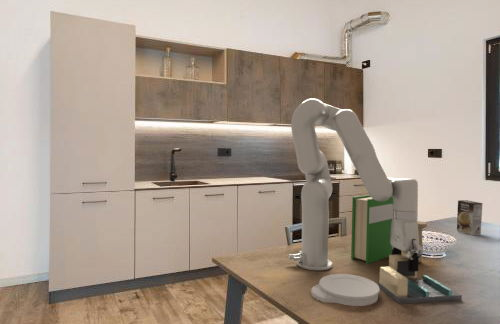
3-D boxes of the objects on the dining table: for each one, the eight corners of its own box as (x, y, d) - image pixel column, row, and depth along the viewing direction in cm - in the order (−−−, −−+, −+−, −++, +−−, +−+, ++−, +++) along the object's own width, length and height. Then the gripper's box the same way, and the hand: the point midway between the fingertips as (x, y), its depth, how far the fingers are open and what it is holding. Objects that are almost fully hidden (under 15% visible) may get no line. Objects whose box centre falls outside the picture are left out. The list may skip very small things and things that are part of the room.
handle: (420, 264, 129) (421, 224, 128) (404, 259, 135) (405, 221, 134) (428, 262, 131) (429, 223, 131) (412, 258, 137) (413, 220, 136)
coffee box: (455, 231, 182) (457, 200, 181) (465, 230, 184) (466, 199, 183) (471, 235, 173) (473, 203, 173) (481, 234, 175) (482, 202, 175)
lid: (301, 286, 109) (301, 276, 109) (359, 281, 114) (359, 271, 114) (325, 311, 93) (325, 300, 92) (392, 304, 97) (392, 294, 97)
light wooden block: (394, 279, 115) (395, 258, 114) (388, 275, 119) (389, 254, 118) (417, 278, 116) (418, 257, 115) (410, 274, 120) (411, 254, 119)
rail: (399, 303, 97) (399, 280, 97) (377, 286, 109) (378, 265, 108) (461, 300, 99) (462, 277, 99) (434, 283, 111) (434, 263, 111)
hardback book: (367, 263, 130) (369, 199, 129) (351, 258, 136) (352, 197, 134) (393, 255, 141) (395, 195, 140) (376, 250, 146) (378, 193, 145)
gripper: (381, 211, 124) (381, 258, 125) (409, 221, 107) (409, 276, 108) (401, 210, 125) (400, 257, 126) (432, 220, 108) (431, 274, 109)
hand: (404, 266), depth 117 cm, fingers open, 9 cm apart
